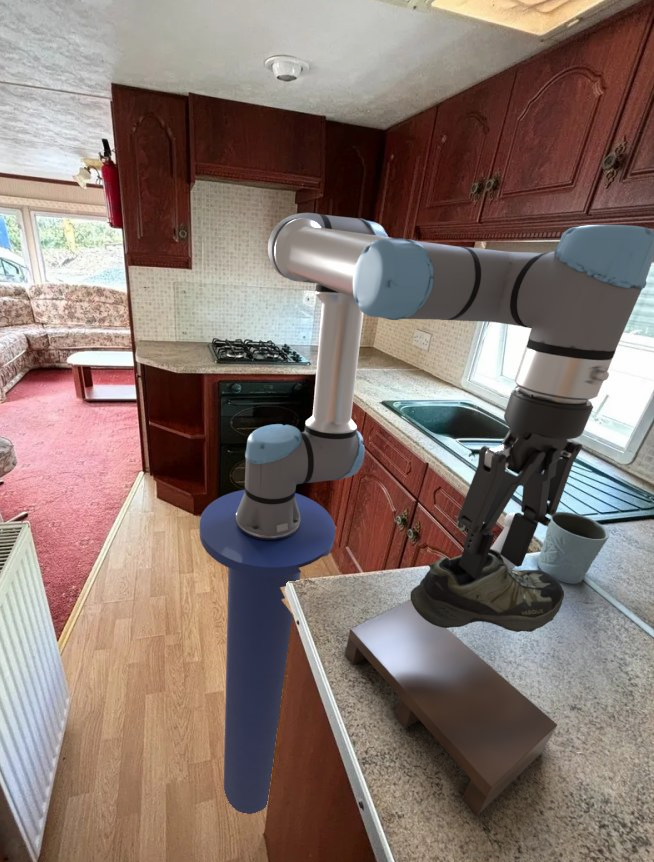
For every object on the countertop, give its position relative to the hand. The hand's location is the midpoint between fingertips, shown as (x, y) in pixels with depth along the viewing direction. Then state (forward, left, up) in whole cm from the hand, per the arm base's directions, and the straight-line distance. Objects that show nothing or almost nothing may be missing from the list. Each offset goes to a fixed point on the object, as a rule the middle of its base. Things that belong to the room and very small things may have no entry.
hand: (490, 565), depth 52 cm
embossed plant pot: (-14, +43, -23) cm, 51 cm away
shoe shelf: (+1, -4, -23) cm, 23 cm away
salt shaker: (-19, +31, -23) cm, 43 cm away
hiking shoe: (0, +3, -9) cm, 9 cm away
